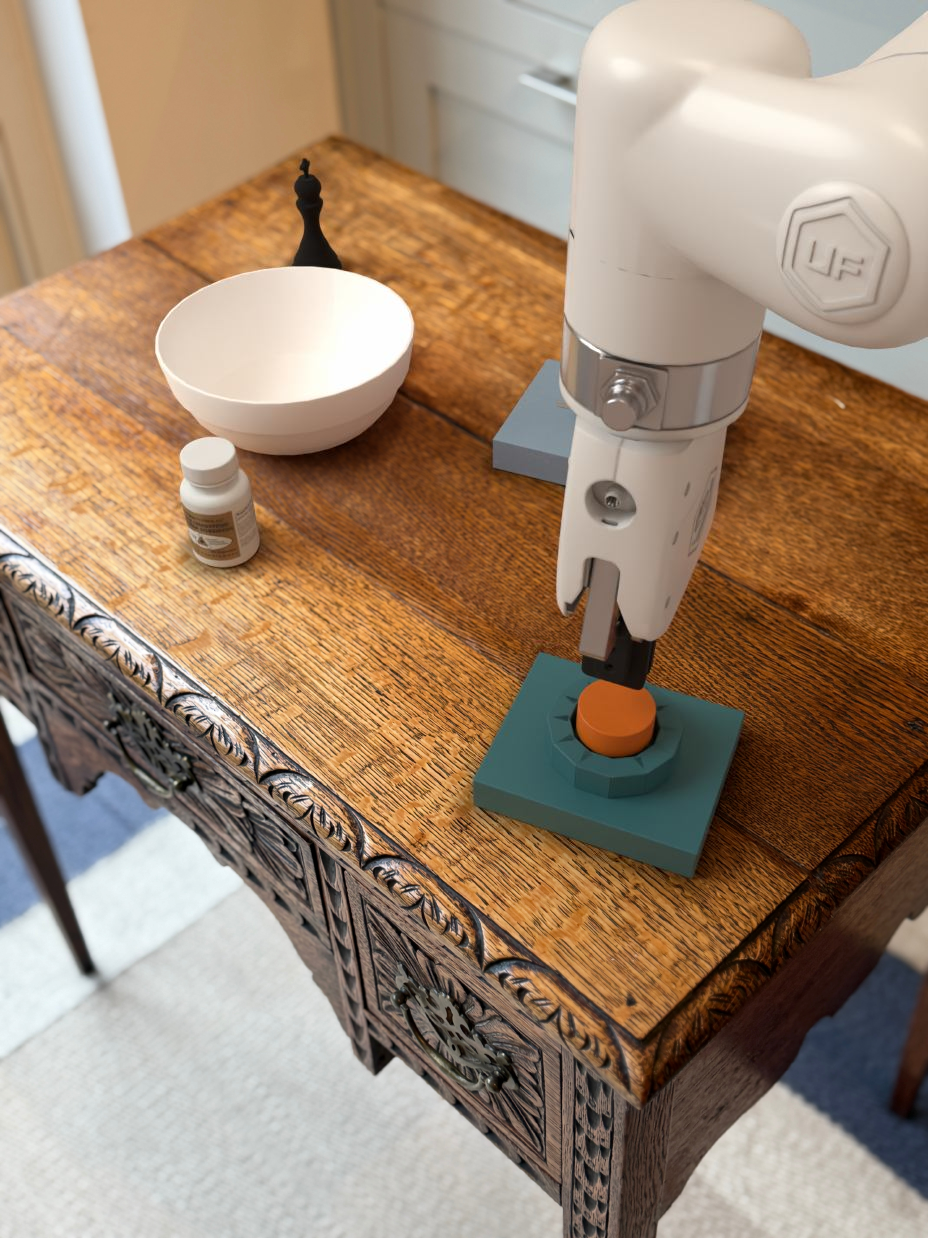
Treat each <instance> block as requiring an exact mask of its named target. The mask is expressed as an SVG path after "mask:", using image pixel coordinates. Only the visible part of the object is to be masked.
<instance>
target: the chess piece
mask: <svg viewBox="0 0 928 1238" xmlns="http://www.w3.org/2000/svg"><path fill="white" fill-rule="evenodd" d="M301 160H302V161H301V163H300V165H299V168H298V169H299V171H301V172H303V174H300V175H298V177H297V179H296V180H295V182H294V184H293V191H294V193H295V194H296V196H297V199H295V206H296V209H297V210H298V212H299V214H300V215H301V217H302V220H303V233H302V237H301V240H300V242H299V246H298V249H297V251H296V253H295V255H294V257H293V262H292V264H291V267H321V268H331V269H338V270H343V269H342V268H343V264H342V261H341V260H340V259H339V257H338V254H337V253H336V251H335V250H334V249H333V247H332V246H331V244H330V242H329V241H328V239H327V237H326V236H325V235H324V232H323V230H322V228H321V223H320V218H321V217H320V216H321V212H322V210H323V207H324V199H323V198H322V197H321V192H322V183H321V181H320V180H319V178H318V177H316V176H315V175H314V174H312V173H309V171H310V170H309V169H310V165H311V161H310V160H309V159H307V158H306V157H303V158H302V159H301Z"/></svg>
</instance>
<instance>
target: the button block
mask: <svg viewBox="0 0 928 1238" xmlns="http://www.w3.org/2000/svg"><path fill="white" fill-rule="evenodd" d="M581 667H582V663H580V662H577V661H573V660H569V659H566V658H563V657H559V656H555V655H552V654H549V653H545V652H542V651H539V652H538V653H537V656H536V658H535V659H534V661H533V664H532V665H531V667H530V669H529V671H528V673H527V675H526V677H525V679H524V681H523V683H522V684H521V686H520V689H519V690H518V691H517V694H516V695H515V698H514V700H513V701H512V704H511V706H510V708H509V710H508V711H507V714H506V716H505V717H504V719H503V721H502V723H501V725H500V727H499V729H498V731H497V733H496V734H495V736H494V737H493V740H492V742H491V744H490V746H489V748H488V750H487V752H486V754H485V755H484V757H483V759H482V761H481V763H480V765H479V767H478V769H477V771H476V773H475V774H474V777H473V778H472V805H473V806H475V807H478V808H481V809H484V810H487V811H490V812H493V813H496V814H499V815H502V816H505V817H508V818H510V819H513V820H516V821H519V822H523V823H525V824H529V825H531V826H533V827H538V828H540V829H543V830H546V831H548V832H552V833H555V834H558V835H560V836H564V837H567V838H570V839H572V840H576V841H579V842H582V843H585V844H587V845H590V846H594V847H596V848H599V849H602V850H604V851H608V852H610V853H614V854H617V855H619V856H622V857H625V858H628V859H632V860H635V861H637V862H640V863H644V864H647V865H649V866H653V867H655V868H659V869H661V870H664V871H667V872H670V873H673V874H676V875H679V876H681V877H685V878H688V879H692V880H693V878H694V875H695V873H696V870H697V867H698V865H699V861H700V858H701V855H702V851H703V848H704V845H705V844H706V840H707V837H708V834H709V831H710V828H711V825H712V822H713V819H714V816H715V813H716V811H717V807H718V804H719V800H720V798H721V796H722V792H723V789H724V786H725V783H726V780H727V776H728V774H729V771H730V769H731V765H732V762H733V759H734V756H735V753H736V751H737V750H736V749H737V747H738V744H739V741H740V737H741V733H742V729H743V726H744V721H745V718H746V712H745V711H743V710H739V709H736V708H734V707H729V706H727V705H726V706H725V705H723V704H719V703H716V702H711V701H709V700H705V699H702V698H699V697H696V696H693V695H692V696H691V695H688V694H685V693H682V692H678V691H675V690H671V689H669V688H665V687H662V686H658V685H655V684H652V683H650V682H648V681H646V682H645V684H644V686H643V687H644V688H645V689H646V690H647V691H648V692H649V693H650V694H651V696H652V697H653V699H654V702H655V705H656V716H655V722H654V729H653V735H652V738H651V740H650V742H649V743H648V745H647V746H646V747H645V748H644V749H643V750H641V751H640V752H638V753H636V754H634V755H631V756H627V757H608V756H604V755H601V754H598V753H596V752H594V751H592V750H591V749H589V748H588V747H587V746H586V745H585V744H584V743H583V742H582V741H581V739H580V737H579V735H578V733H577V729H576V721H577V709H578V700H579V697H580V695H581V693H582V692H583V691H584V689H585V688H586V687H587V686H589V685H590V684H592V683H594V682H595V681H598V680H601V679H598V678H594V677H591V676H588V675H586V674H584V673H583V672H582V669H581Z"/></svg>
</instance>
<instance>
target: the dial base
mask: <svg viewBox="0 0 928 1238" xmlns="http://www.w3.org/2000/svg"><path fill="white" fill-rule="evenodd" d="M560 362H561V360H555V359H551V358H547V359H546V360H545V362H544V364H542V366H541V368H540V369H539V370H538V372H537V374H536V375H535V377H534V378H533V379H532V380H531V382H530V384H529V385H528V387H527V388H526V390H525V391H524V393H522V395H521V397H520V399H519V400H518V401H517V403H516V405H515V406H514V407H513V409H512V410H511V412H510V413H509V415H508V416H507V418H506V419H505V421H504V422H503V424H502V425H501V427H499V430H498V431H497V432H496V434H495V435H494V437H493V438H492V468H493V469H497V470H500V471H505V472H509V473H513V474H517V475H521V476H525V477H530V478H532V479H538V480H541V481H545V482H548V483H553V484H557V485H561V486H565V487H566V481H567V474H568V467H569V465H568V459H569V457H570V454H571V447H572V441H573V435H574V428H575V422H576V416H577V414H575V413H574V412H573V411H572V409H571V408H570V407H569V406H568V405H567V404H566V402H565V400H564V399H563V397H562V394H561V391H560V388H559V374H560Z"/></svg>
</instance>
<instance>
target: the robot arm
mask: <svg viewBox="0 0 928 1238" xmlns="http://www.w3.org/2000/svg"><path fill="white" fill-rule="evenodd" d="M808 45H809V44H808V43H807V41H806V39H805V37H804V34H803V33H802V31H801V30H800V29H799V28H798V27H797V26H796V25H795V24H794V23H793V22H792V21H791V20H790V19H789V18H788V17H787V16H785V15H784V14H782V13H781V12H779V11H776V10H774V9H772V8H770V7H767V6H765V5H761V4H759V3H755V2H753V1H749V0H635V1H631V2H628V3H626V4H623V5H621V6H619V7H618V8H615V9H614V10H613V11H611V12H610V13H608V14H607V15H605V16H604V17H603V18H601V20H600V21H598V23H597V24H596V25H595V27H594V28H593V30H591V32H590V34H589V36H588V38H587V39H586V42H585V44H584V47H583V48H582V52H581V55H580V56H581V57H580V62H579V69H578V77H577V78H578V79H577V87H576V104H575V117H574V119H575V120H574V135H573V152H572V166H571V182H570V197H569V198H570V199H569V215H568V232H567V233H568V234H567V247H566V249H567V251H566V267H565V268H566V269H565V270H566V271H565V285H564V303H563V317H562V330H561V331H562V332H561V349H560V374H559V388H560V391H561V394H562V397H563V399H564V400H565V402H566V404H567V405H568V406H569V407H570V408H571V409H572V411H573V412H574V413H575V414H577V416H576V422H575V428H574V435H573V441H572V447H571V454H570V457H569V459H568V465H569V467H568V474H567V481H566V486H565V489H564V495H563V496H564V497H563V505H562V513H561V514H562V515H561V521H560V522H561V523H560V532H559V540H558V552H557V562H556V580H555V582H556V585H555V590H556V591H555V592H556V603H557V607H558V609H559V611H560V612H561V613H562V615H563V616H564V617H565V618H567V617H569V616H570V615H571V614H572V615H574V614H575V612H576V610H577V608H578V605H579V604H580V602H581V600H582V598H583V596H584V594H585V608H584V609H585V610H584V615H583V621H582V627H581V632H580V638H579V645H578V650H577V651H578V655H582V657H581V658H582V659H581V664H582V667H581V669H582V672H583V673H584V674H586V675H588V676H591V677H594V678H598V679H601V680H604V681H608V682H611V683H614V684H617V685H621V686H624V687H627V688H631V689H634V690H641V689H642V688H643V686H644V684H645V682H647V678H648V675H649V674H650V672H651V670H652V668H653V665H654V660H655V659H654V658H655V653H656V652H655V651H656V646H657V639H660V638H661V637H662V636H663V635H664V634H665V633H666V632H667V631H668V629H669V627H670V626H671V623H672V621H673V619H674V617H675V615H676V613H677V610H678V608H679V606H680V603H681V601H682V599H683V597H684V594H685V592H686V591H687V587H688V585H689V583H690V581H691V578H692V575H693V573H694V571H695V569H696V566H697V564H698V562H699V559H700V556H701V554H702V552H703V549H704V547H705V544H706V541H707V539H708V537H709V534H710V531H711V528H712V525H713V522H714V518H715V513H716V507H717V502H718V495H719V487H720V479H721V471H722V466H723V465H722V464H723V458H724V453H725V452H724V451H725V445H726V438H727V432H728V431H727V430H728V427H729V426H730V425H731V424H733V423H734V422H736V421H737V420H738V419H739V418H740V417H741V415H742V414H744V412H745V411H746V408H747V405H748V404H749V399H750V394H751V388H752V384H753V379H754V376H755V370H756V366H757V365H756V364H757V360H758V355H759V349H760V344H761V339H762V335H763V329H764V324H765V320H766V319H765V318H766V314H767V310H768V311H770V312H771V313H773V314H776V315H777V316H778V317H780V318H782V319H783V320H785V321H787V322H789V323H791V324H793V325H795V326H797V327H799V328H800V329H801V330H804V331H806V332H808V333H811V334H813V335H815V336H818V337H819V338H822V339H824V340H827V341H830V342H833V343H835V344H836V343H837V344H840V345H844V346H847V347H851V348H857V349H864V350H865V349H866V350H887V349H894V348H899V347H900V348H901V347H903V346H907V345H911V344H915V343H918V342H919V341H921V340H924V339H926V338H928V10H926V11H925V12H924V13H922V14H921V15H920V16H919V17H918V18H917V19H916V20H914V21H913V22H912V23H910V24H909V25H908V26H907V27H906V28H905V29H903V30H902V31H901V32H899V33H898V34H897V35H895V36H894V37H893V38H891V39H890V40H889V41H888V42H886V43H885V44H883V45H882V46H881V47H880V48H878V49H877V50H876V51H875V52H873V53H872V54H871V55H869V57H867V58H866V59H865V60H864V61H863V62H861V63H860V64H859V65H858V66H856V67H853V68H849V69H847V70H844V71H840V72H837V73H833V74H829V75H825V76H820V77H813V71H812V70H813V69H812V68H813V67H812V57H811V51H810V47H809V46H808Z"/></svg>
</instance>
